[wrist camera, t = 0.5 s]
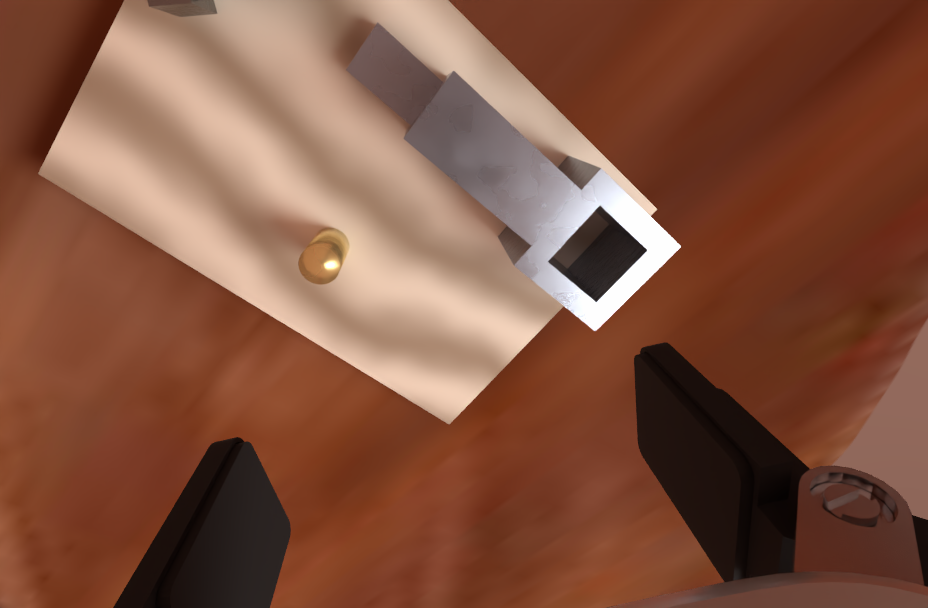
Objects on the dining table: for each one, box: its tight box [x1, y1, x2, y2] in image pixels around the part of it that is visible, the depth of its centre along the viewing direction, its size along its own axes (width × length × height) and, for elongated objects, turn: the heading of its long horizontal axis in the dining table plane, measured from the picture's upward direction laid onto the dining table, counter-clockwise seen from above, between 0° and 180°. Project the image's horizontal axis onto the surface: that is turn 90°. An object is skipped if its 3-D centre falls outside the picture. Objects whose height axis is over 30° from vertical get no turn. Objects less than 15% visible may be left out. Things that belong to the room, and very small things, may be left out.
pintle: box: [298, 228, 350, 285], centre depth 30 cm, size 2×2×6 cm
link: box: [346, 22, 681, 331], centre depth 27 cm, size 20×7×6 cm, turn 50°
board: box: [38, 0, 657, 424], centre depth 31 cm, size 23×32×2 cm
